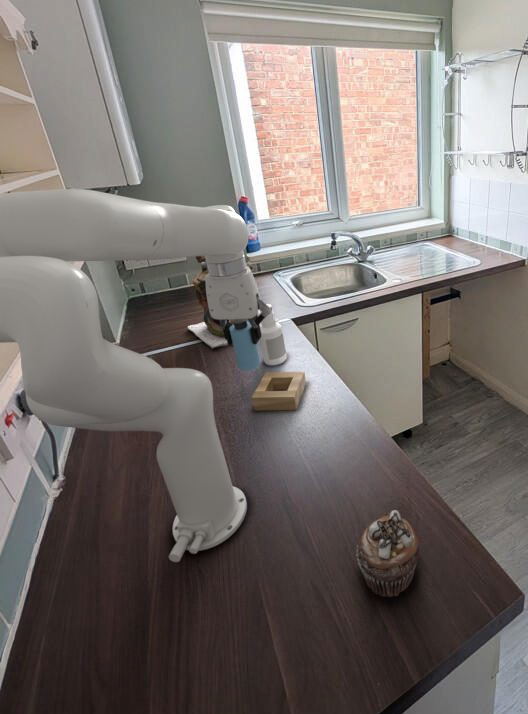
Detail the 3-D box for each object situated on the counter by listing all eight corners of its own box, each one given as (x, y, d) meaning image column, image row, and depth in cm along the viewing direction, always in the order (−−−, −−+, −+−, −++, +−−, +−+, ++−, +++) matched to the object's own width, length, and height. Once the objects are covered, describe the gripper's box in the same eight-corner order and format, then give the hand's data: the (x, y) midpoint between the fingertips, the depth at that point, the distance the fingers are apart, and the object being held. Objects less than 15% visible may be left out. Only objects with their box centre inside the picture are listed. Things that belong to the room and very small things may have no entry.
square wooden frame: (296, 409, 100) (294, 396, 99) (254, 410, 101) (251, 397, 100) (306, 383, 110) (304, 371, 109) (267, 384, 111) (265, 372, 110)
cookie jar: (249, 306, 161) (232, 228, 148) (281, 324, 144) (266, 238, 132) (186, 329, 145) (161, 244, 133) (214, 353, 128) (189, 258, 116)
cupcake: (394, 529, 70) (391, 487, 66) (432, 575, 62) (431, 530, 58) (347, 565, 64) (340, 521, 61) (382, 619, 57) (378, 573, 53)
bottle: (256, 370, 91) (246, 325, 86) (235, 371, 91) (224, 326, 86) (263, 358, 95) (254, 315, 91) (243, 358, 96) (233, 315, 91)
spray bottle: (281, 366, 119) (271, 312, 112) (260, 365, 120) (248, 311, 114) (290, 354, 125) (281, 301, 118) (270, 353, 127) (260, 301, 120)
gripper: (178, 274, 81) (200, 351, 88) (261, 270, 80) (276, 349, 87) (195, 261, 87) (214, 334, 95) (272, 258, 87) (286, 332, 94)
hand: (244, 340), depth 91 cm, fingers closed on bottle, 5 cm apart
